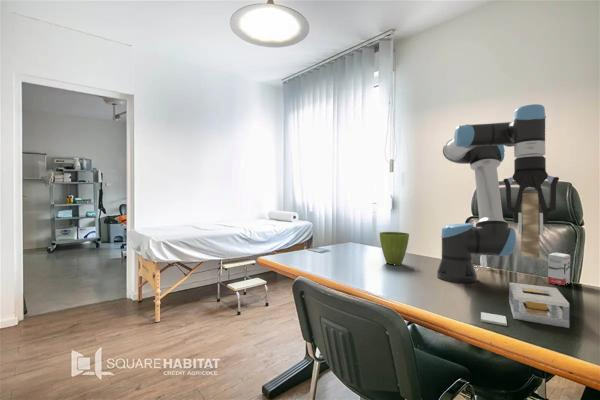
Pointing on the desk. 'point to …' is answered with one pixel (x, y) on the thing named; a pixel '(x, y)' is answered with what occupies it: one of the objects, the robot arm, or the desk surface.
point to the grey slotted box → (537, 315)
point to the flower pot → (394, 246)
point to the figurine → (483, 261)
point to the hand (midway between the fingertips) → (530, 234)
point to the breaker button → (536, 305)
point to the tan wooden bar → (530, 224)
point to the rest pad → (493, 319)
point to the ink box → (559, 268)
